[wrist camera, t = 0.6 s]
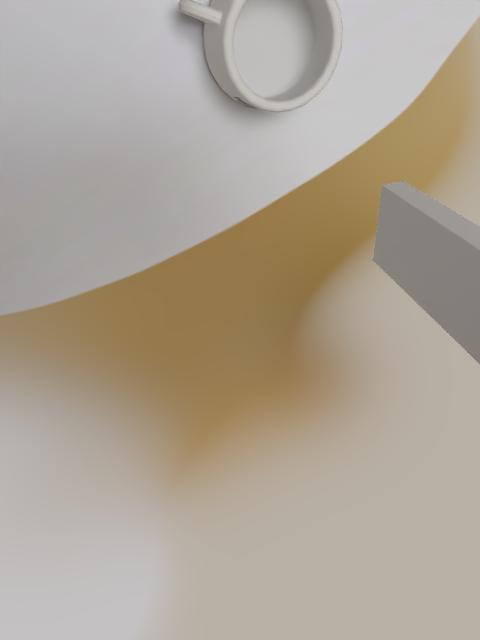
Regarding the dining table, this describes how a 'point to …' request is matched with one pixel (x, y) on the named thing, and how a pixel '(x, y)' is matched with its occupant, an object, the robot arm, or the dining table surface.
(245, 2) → the mug
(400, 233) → the robot arm
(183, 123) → the dining table surface
